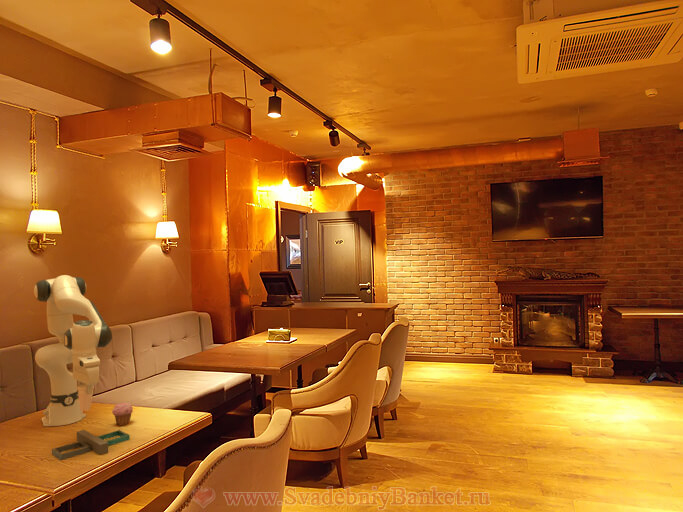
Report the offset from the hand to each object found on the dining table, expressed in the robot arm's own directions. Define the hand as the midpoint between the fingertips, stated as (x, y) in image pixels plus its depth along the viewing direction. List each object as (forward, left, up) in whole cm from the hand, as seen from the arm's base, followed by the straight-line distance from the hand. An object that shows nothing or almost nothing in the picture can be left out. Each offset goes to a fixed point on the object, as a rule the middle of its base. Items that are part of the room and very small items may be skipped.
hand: (85, 392), depth 201 cm
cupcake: (-19, +23, -23) cm, 37 cm away
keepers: (0, +2, -23) cm, 23 cm away
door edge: (0, +2, -23) cm, 23 cm away
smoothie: (0, -1, -7) cm, 7 cm away
